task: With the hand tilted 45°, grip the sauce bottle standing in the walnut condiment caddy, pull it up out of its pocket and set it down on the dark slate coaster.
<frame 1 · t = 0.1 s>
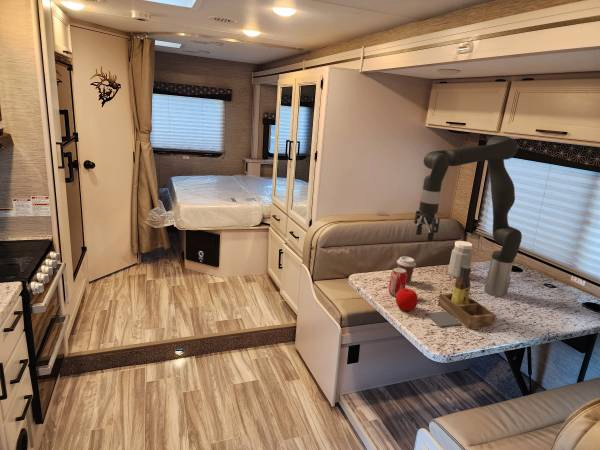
hand: (423, 237, 168), 29 cm above the table, tool pointing down, fingers open, 8 cm apart
coffee cup: (403, 281, 194), on the table
jar: (457, 275, 207), on the table
sauce bottle: (457, 309, 170), resting in caddy
coaster: (442, 319, 160), on the table
caddy: (464, 314, 166), on the table
soda can: (395, 294, 180), on the table
fruit: (405, 309, 167), on the table
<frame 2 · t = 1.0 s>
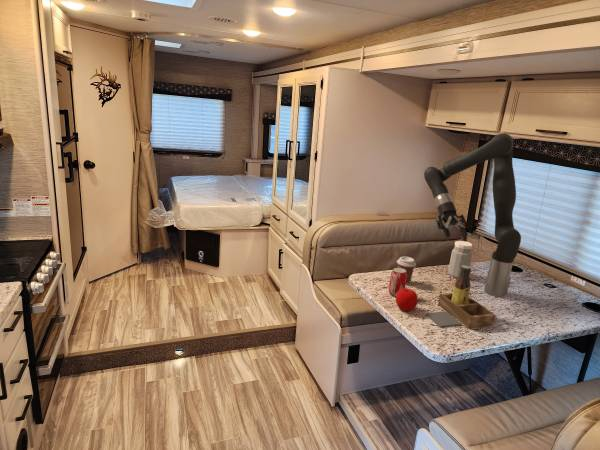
hand: (456, 236, 175), 28 cm above the table, tool tilted 45°, fingers open, 8 cm apart
nothing on the table moved.
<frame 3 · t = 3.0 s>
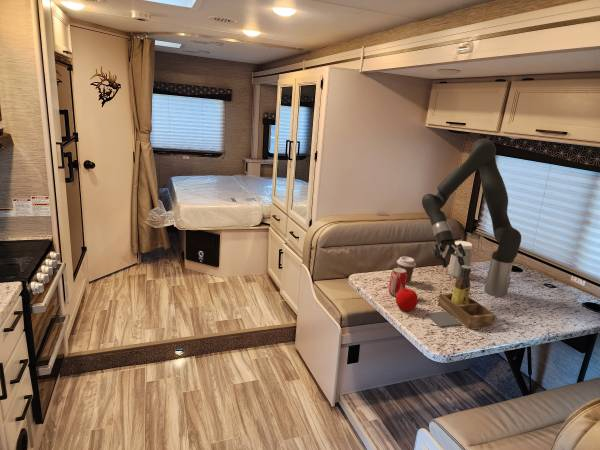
hand: (454, 266, 171), 17 cm above the table, tool tilted 45°, fingers open, 8 cm apart
nothing on the table moved.
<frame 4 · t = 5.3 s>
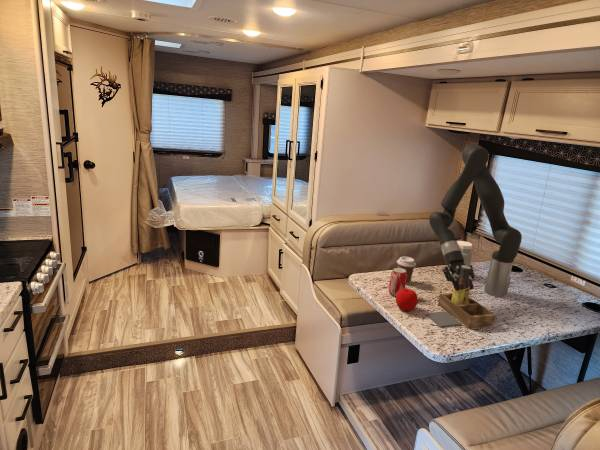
hand: (464, 289, 165), 10 cm above the table, tool tilted 45°, fingers closed on sauce bottle, 6 cm apart
sauce bottle: (457, 309, 170), resting in caddy, touching gripper
everything else where it was.
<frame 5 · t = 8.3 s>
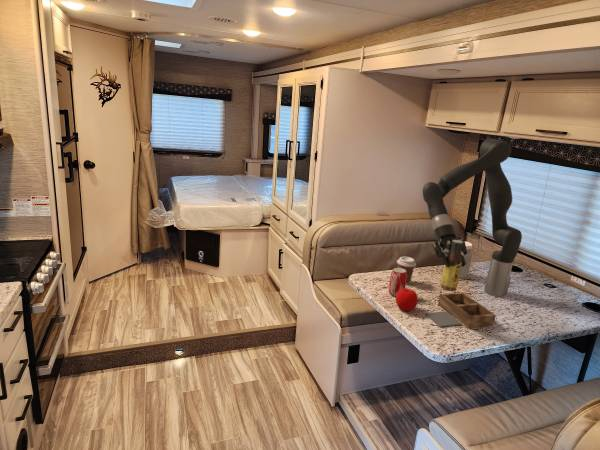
hand: (456, 266, 152), 24 cm above the table, tool tilted 45°, fingers closed on sauce bottle, 6 cm apart
sauce bottle: (448, 288, 157), point 14 cm above the table, touching gripper
everything else where it was.
when the fingers open (12 cm above the table, at t = 11.1 s): sauce bottle stays where it is, resting on coaster.
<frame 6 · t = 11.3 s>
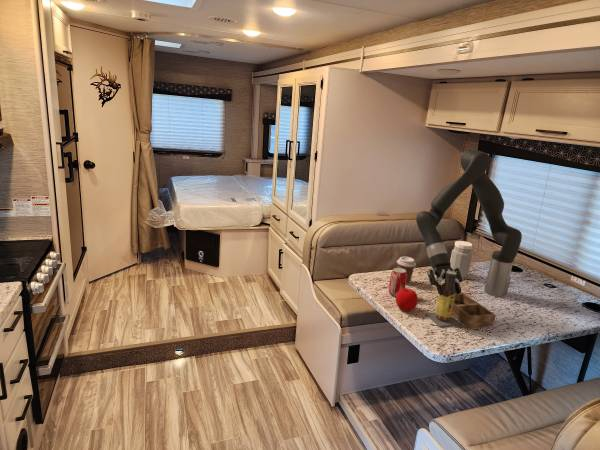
hand: (450, 294, 156), 12 cm above the table, tool tilted 45°, fingers open, 7 cm apart
sauce bottle: (442, 318, 160), resting on coaster
everything else where it was.
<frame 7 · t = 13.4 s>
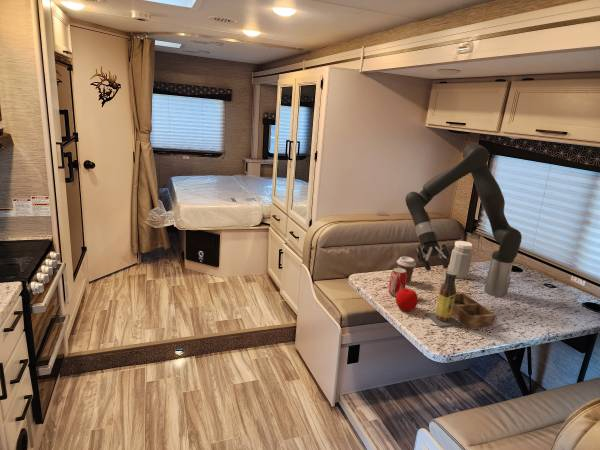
hand: (437, 269, 167), 17 cm above the table, tool tilted 40°, fingers open, 8 cm apart
nothing on the table moved.
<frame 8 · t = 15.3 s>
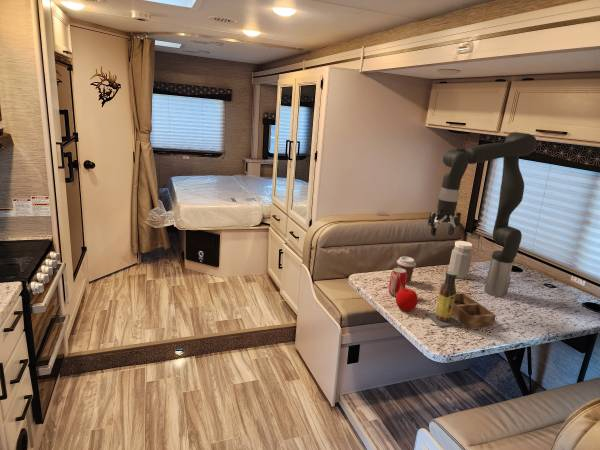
hand: (441, 235, 170), 30 cm above the table, tool pointing down, fingers open, 8 cm apart
nothing on the table moved.
at the end: sauce bottle 0.3 cm from the coaster (horizontally); sauce bottle tilted 0°; the gripper is holding nothing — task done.
